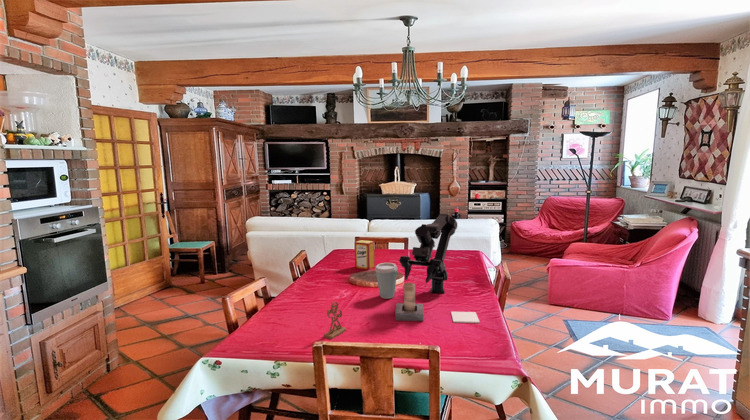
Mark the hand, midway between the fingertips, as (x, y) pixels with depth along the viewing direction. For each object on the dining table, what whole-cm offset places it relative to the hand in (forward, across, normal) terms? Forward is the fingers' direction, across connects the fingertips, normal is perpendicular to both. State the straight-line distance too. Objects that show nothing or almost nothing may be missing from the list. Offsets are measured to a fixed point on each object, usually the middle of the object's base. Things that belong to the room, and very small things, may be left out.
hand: (415, 281), depth 168 cm
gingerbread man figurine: (+34, -17, -15) cm, 41 cm away
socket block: (+14, 0, +4) cm, 14 cm away
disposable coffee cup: (+2, -19, +16) cm, 25 cm away
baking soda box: (-25, -53, +43) cm, 73 cm away
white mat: (+8, +21, +10) cm, 24 cm away
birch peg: (+14, 0, +4) cm, 14 cm away
